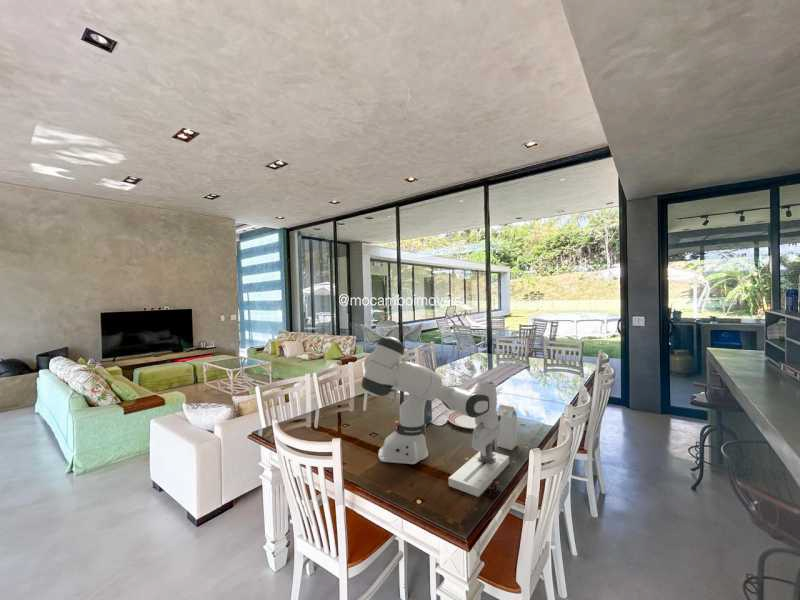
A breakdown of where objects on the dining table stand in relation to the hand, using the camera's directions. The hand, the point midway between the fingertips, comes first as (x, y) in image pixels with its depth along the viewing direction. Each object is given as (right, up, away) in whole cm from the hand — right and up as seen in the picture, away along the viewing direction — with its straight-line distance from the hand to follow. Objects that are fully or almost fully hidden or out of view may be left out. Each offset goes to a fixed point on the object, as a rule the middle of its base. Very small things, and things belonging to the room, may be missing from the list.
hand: (486, 453), depth 139 cm
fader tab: (0, -3, 0) cm, 3 cm away
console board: (-4, -6, -5) cm, 8 cm away
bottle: (-22, -7, +55) cm, 60 cm away
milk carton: (+15, -6, +20) cm, 26 cm away
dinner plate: (+5, -6, +50) cm, 51 cm away
